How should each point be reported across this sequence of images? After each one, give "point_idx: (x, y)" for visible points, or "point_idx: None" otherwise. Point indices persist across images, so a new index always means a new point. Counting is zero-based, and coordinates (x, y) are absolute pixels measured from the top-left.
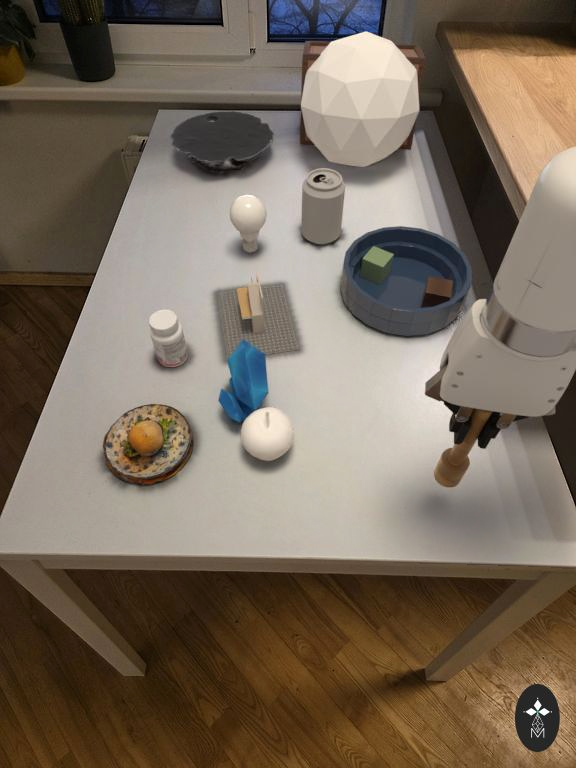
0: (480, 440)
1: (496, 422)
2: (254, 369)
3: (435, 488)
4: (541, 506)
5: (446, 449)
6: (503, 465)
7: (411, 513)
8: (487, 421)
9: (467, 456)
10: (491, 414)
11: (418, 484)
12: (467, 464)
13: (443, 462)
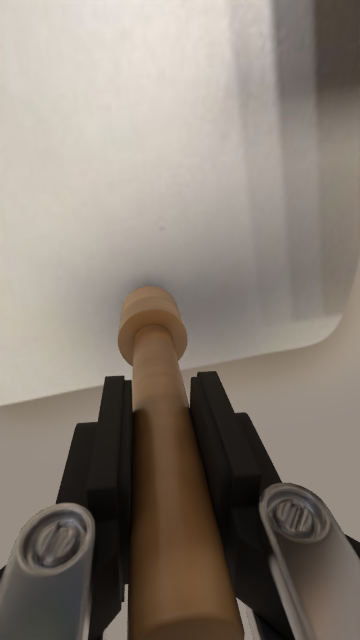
0: None
1: (247, 611)
2: None
3: (146, 267)
4: (318, 265)
5: (129, 318)
6: (271, 194)
7: (109, 320)
8: None
9: (181, 328)
10: (231, 547)
11: (115, 265)
12: (181, 348)
13: (124, 354)
